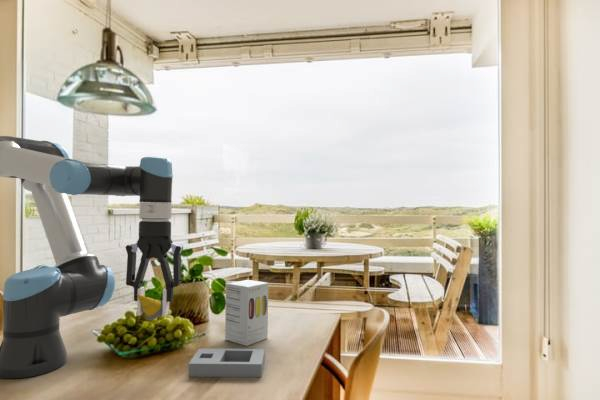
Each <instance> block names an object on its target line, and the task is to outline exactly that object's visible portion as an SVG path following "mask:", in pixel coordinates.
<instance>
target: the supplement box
mask: <svg viewBox="0 0 600 400" xmlns="http://www.w3.org/2000/svg"><path fill="white" fill-rule="evenodd" d="M224 313H225V318H224V319H225V321H224V322H225V324H224V325H225V327H224V328H225V329H224V340H226V341H228V342H232V343H236V344H239V345H242V346H245V347H246V346H247V347H248V346H250V345H253V344H256V343H258V342H261V341H264V340H267V339H268V327H269V325H268V324H269V323H268V322H269V316H268V315H269V283H268V282H266V281H259V280H254V279H253V280H252V279H245V280H238V281H233V282H227V283H226V284H225V312H224Z"/></svg>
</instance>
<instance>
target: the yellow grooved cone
mask: <svg viewBox="0 0 600 400" xmlns="http://www.w3.org/2000/svg"><path fill="white" fill-rule="evenodd" d="M137 296H138V298H139V301H140V303H141V305H142V308H143V310H144V313H143V315H144V318H146V319H147V320H148V321H153V320H156V319H158V318H161V317H164V316H162V312H163V299H160V298H159V299H155V298H152V297H148V296H146V295H145V296H142V295H137Z"/></svg>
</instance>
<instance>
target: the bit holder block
mask: <svg viewBox="0 0 600 400" xmlns="http://www.w3.org/2000/svg"><path fill="white" fill-rule="evenodd" d="M265 362H266V349H265V348H198V350H197V351H196V353H194V355H193V356H192V358H191V360H190V361H189V362H188V377H204V378H205V377H207V378H208V377H209V378H211V377H214V378H215V377H217V378H228V377H229V378H262V376H263V371H264V368H265Z"/></svg>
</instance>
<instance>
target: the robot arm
mask: <svg viewBox="0 0 600 400" xmlns="http://www.w3.org/2000/svg"><path fill="white" fill-rule="evenodd" d="M0 177H1V178H12V179H19V180H20V182H21V184H22V187H23V189H25V190H26V191H28V192H31V195H32V197H33V201H34V203H35V206H36V209H37V212H38V215H39V218H40V221H41V224H42V227H43V229H44V232H45V236H46V239H47V242H48V245H49V247H50V250H51V253H52V256H53V260H54V262H55V265H54V266H47V267H45V266H43V267H39V268H36V267H35V268H31V269H26V270H22V271H19V272H16V273H13V274H11V275H10V276H9V277H8V278H6V280H5V281H4V285H3V292H2V293H3V294H2V299H3V302H2V303H3V307H2V308H3V309H2V310H3V311H2V315H3V316H2V340H1V343H0V379H1V378H2V379H22V378H24V379H25V378H32V377H36V376H39V375H43V374H47V373H50V372H53V371H55V370H57V369H59V368H61V367H63V366H64V365H66V363H67V361H68V351H67V349H66V346H65V342H64V339H63V337H62V335H61V332H60V318H61V317H66V316H69V315H75V314H77V313H78V314H79V313H82V312H87V311H93V310H95V309H96V308H97V309H98V308H100V307H103V306H105V305H106V304H107V303H109V301H110V300H111V299H112V297H113V294H114V292H115V287H116V279H115V275H114V272H113V270H112V268H110V267H109V266H107V265H106V264H100V262H99V260H98V259H99V258H98V257H97V255H96V254H93V253H90V251H89V248H88V246H87V243H86V240H85V238H84V235H83V233H82V230H81V227H80V224H79V222H78V219H77V218H78V217H77V216H76V212H75V210H74V208H73V204H72V203H71V200H70V199H71V198H70V196H76V195H87V196H88V195H89V196H90V195H93V196H94V195H96V196H97V195H98V196H116V197H126V196H129V197H130V196H131V197H132V196H134V197H136V196H139V200H138V201H139V205H138V206H139V209H138V210H139V211H138V213H139V214H138V218H139V219H140V220H139V222H138V239H137V241H136V242H135V243H133V244H132V243H131V244H127V245H126V246H125V250H126V253H127V260H126V275H125V277H126V278H125V284H126V286H130V287H132V288H133V301H134V302H137V306H136V307H137V308H136V316H138V317H139V316H142V315H144V310H143V308H142V305H141V303H140V301H139V298H138V296H137V295H142V296H145V297H146V287H145V286H143V283H144V280H145V276H146V273H147V269H148V267H149V263H150V261H151V259H152V258H153V259H157V261H158V263H159V265H160V268H161V271H162V272H161V273H162V277H163V281H164V284H165V287H164V288H163V289H162V301H163V312H162V316H163V317H167V316H168V315H169V314H170V302H172V301H173V300H174V288H177V287H178V286H179V285H182V253H183V250H184V246H183V245H182V244H181V245H179V244H176V243H173V241H172V222H171V221H170V220H171V219H172V208H173V207H172V205H173V204H172V203H173V202H172V200H173V199H172V195H173V194H172V193H173V191H172V190H173V177H174V175H173V163H172V160H171V159H169V158H166V157H161V156H160V157H158V156H144V157H142V158H141V159H140V162H139V165H138V166H137V165H135V166H130V165H129V166H127V165H126V166H124V165H116V164H107V163H106V164H105V163H95V162H87V161H81V160H77V159H71V157H70V154H69V153H68V151H67V150H66V148H65V147H63V145H61V144H58V143H55V142H51V141H47V140H34V139H29V138H23V137H17V136H16V137H15V136H10V135H9V136H8V135H0ZM69 195H70V196H69ZM170 249H171V252H172V254H173V255H172V262H173V263H172V266H173V267H172V269H173V271H171V267H170V263H169V257H168V252H169V251H170ZM138 250H139V251H140V253H142V254H141V257H140V262H139V266H138V270H137V272H136V269H137V268H136V267H137V252H138ZM172 272H173V274H172Z"/></svg>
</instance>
